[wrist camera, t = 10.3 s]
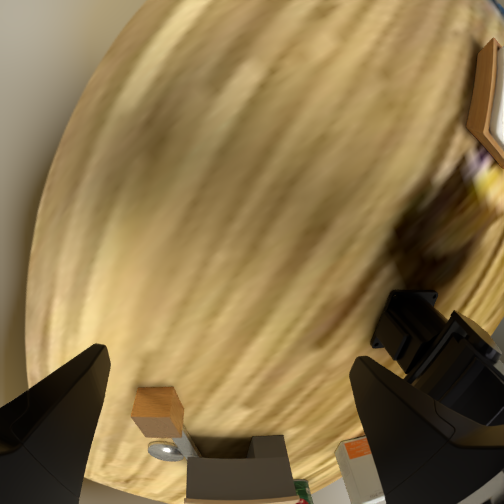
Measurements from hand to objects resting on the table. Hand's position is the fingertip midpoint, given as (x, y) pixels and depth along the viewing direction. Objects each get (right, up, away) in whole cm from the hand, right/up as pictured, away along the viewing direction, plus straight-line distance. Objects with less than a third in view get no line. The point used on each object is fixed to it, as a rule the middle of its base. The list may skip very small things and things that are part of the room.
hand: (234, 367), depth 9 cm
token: (-11, -23, +21) cm, 33 cm away
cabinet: (-2, -24, +22) cm, 33 cm away
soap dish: (+26, +19, +9) cm, 33 cm away
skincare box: (+17, -26, +25) cm, 40 cm away
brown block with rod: (-8, -18, +19) cm, 27 cm away
